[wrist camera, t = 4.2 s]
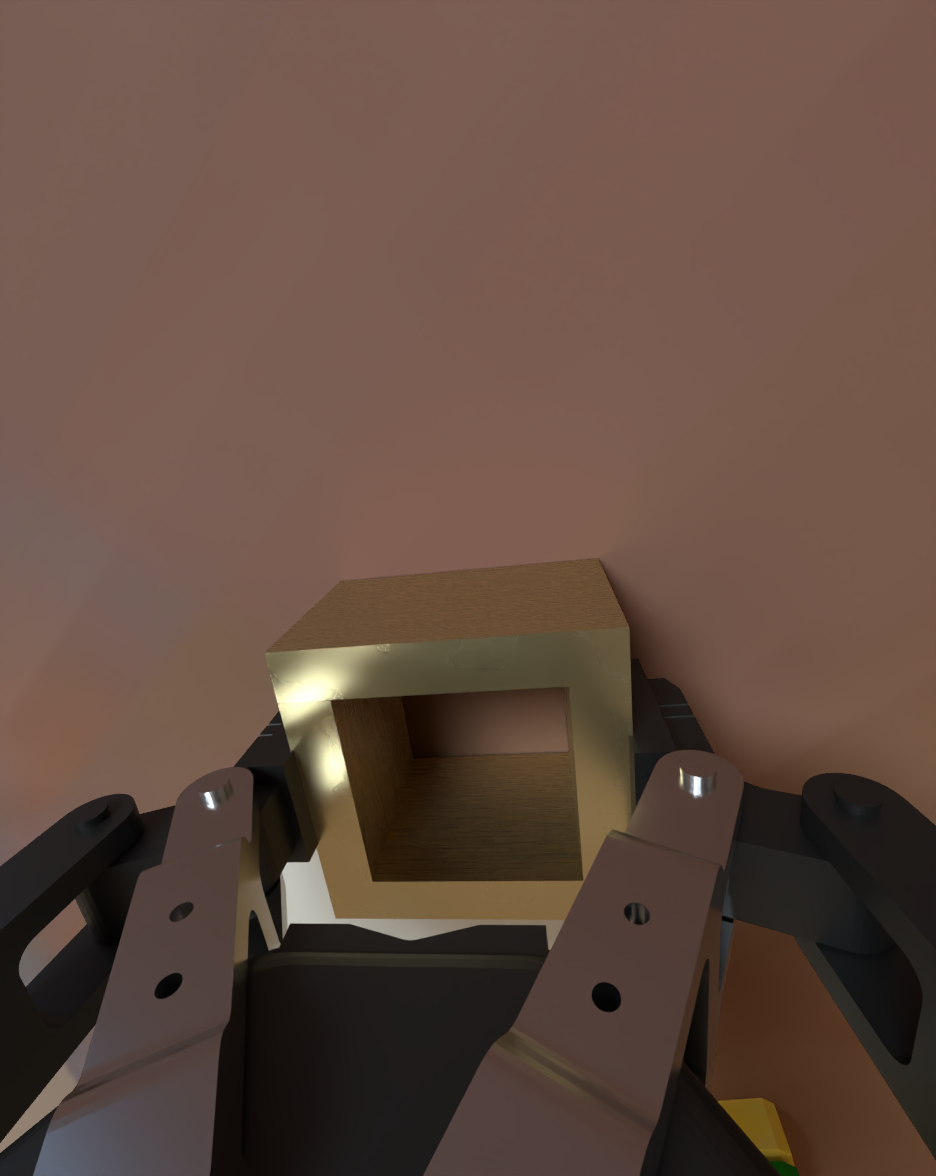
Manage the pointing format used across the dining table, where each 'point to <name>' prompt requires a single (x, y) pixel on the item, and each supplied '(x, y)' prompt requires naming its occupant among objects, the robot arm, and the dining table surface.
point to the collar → (468, 783)
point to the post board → (315, 907)
